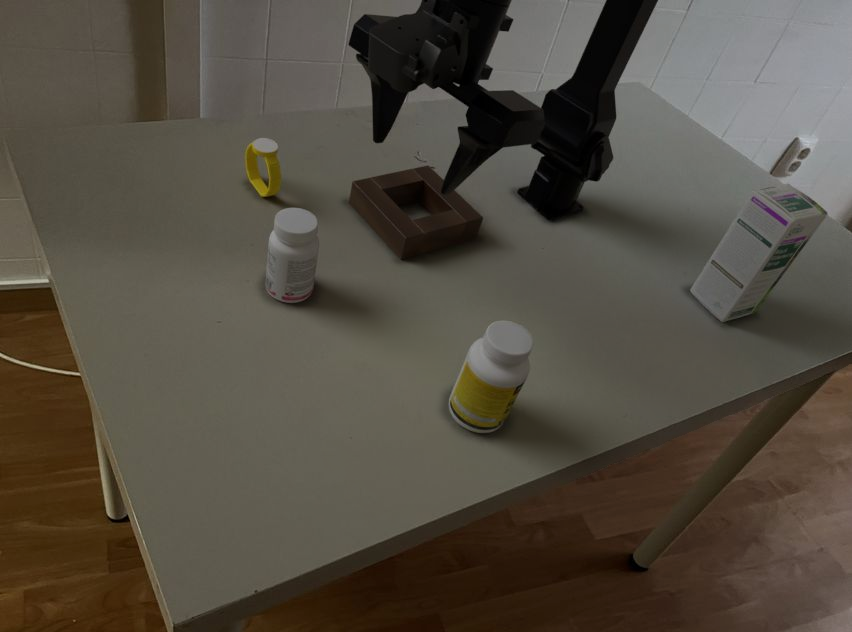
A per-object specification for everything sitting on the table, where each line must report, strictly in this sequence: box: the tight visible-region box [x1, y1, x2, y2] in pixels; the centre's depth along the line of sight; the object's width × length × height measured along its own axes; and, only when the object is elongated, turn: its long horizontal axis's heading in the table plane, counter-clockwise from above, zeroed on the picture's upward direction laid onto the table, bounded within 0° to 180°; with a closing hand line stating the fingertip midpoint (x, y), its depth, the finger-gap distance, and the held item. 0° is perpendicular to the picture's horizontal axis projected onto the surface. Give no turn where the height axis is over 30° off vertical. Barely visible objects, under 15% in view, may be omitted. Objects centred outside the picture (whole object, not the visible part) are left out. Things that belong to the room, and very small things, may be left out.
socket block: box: [348, 165, 484, 261], centre depth 82 cm, size 11×11×3 cm
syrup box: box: [689, 183, 828, 323], centre depth 78 cm, size 6×6×14 cm
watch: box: [244, 137, 282, 198], centre depth 80 cm, size 6×3×6 cm, turn 35°
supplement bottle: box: [448, 320, 534, 434], centre depth 61 cm, size 5×5×10 cm
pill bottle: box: [265, 207, 320, 304], centre depth 68 cm, size 5×5×8 cm
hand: (410, 167), depth 65 cm, fingers open, 9 cm apart
